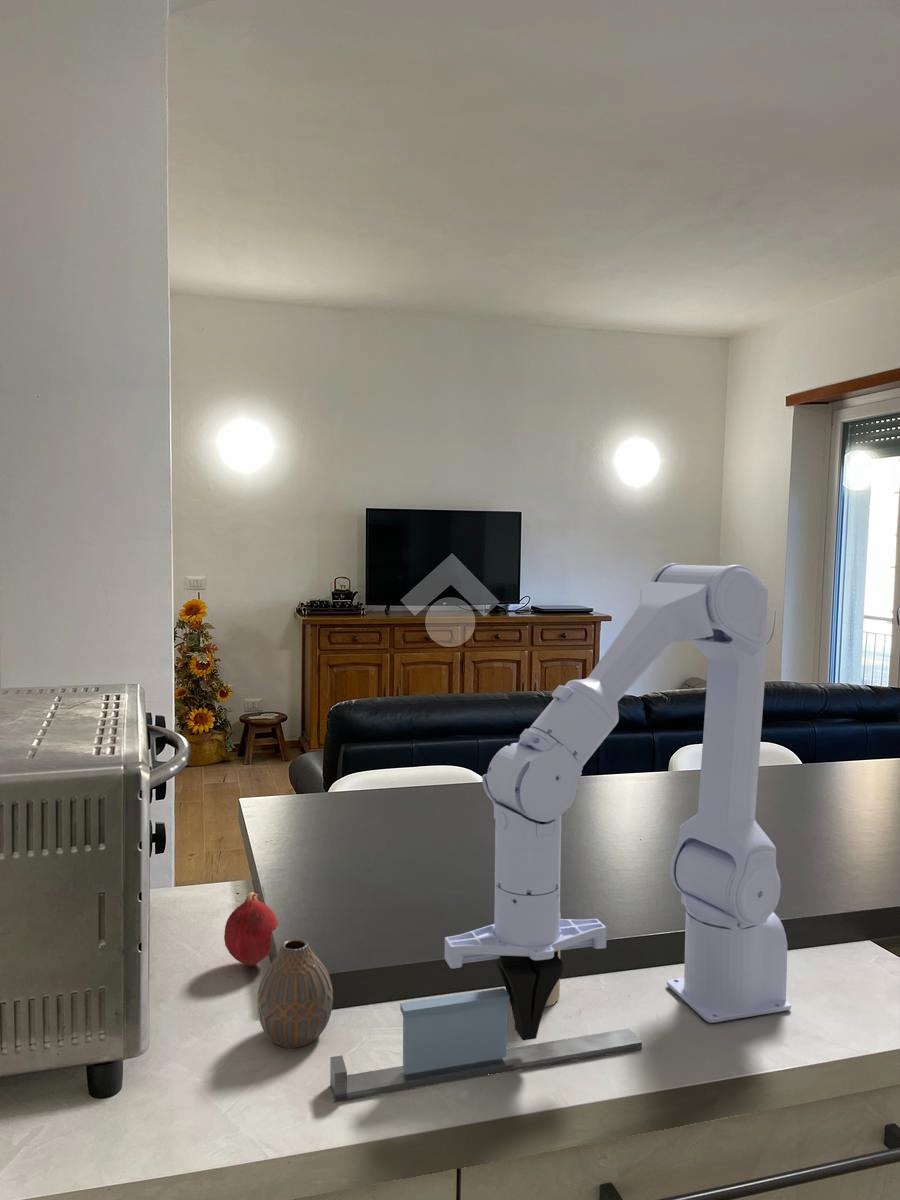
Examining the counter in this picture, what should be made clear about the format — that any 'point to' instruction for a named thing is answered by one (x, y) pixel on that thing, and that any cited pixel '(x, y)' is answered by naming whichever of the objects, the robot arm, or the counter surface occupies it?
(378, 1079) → the rail
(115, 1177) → the counter surface
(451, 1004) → the panel
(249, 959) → the onion
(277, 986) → the vase
